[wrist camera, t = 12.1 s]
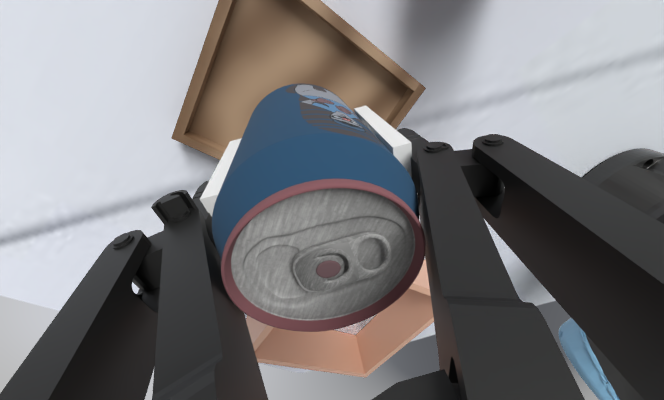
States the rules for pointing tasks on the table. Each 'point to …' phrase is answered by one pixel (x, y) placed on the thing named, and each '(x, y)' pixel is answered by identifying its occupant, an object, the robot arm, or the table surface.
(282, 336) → the terracotta sleeve
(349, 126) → the soda can
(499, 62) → the table surface
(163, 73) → the table surface
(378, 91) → the walnut tray
